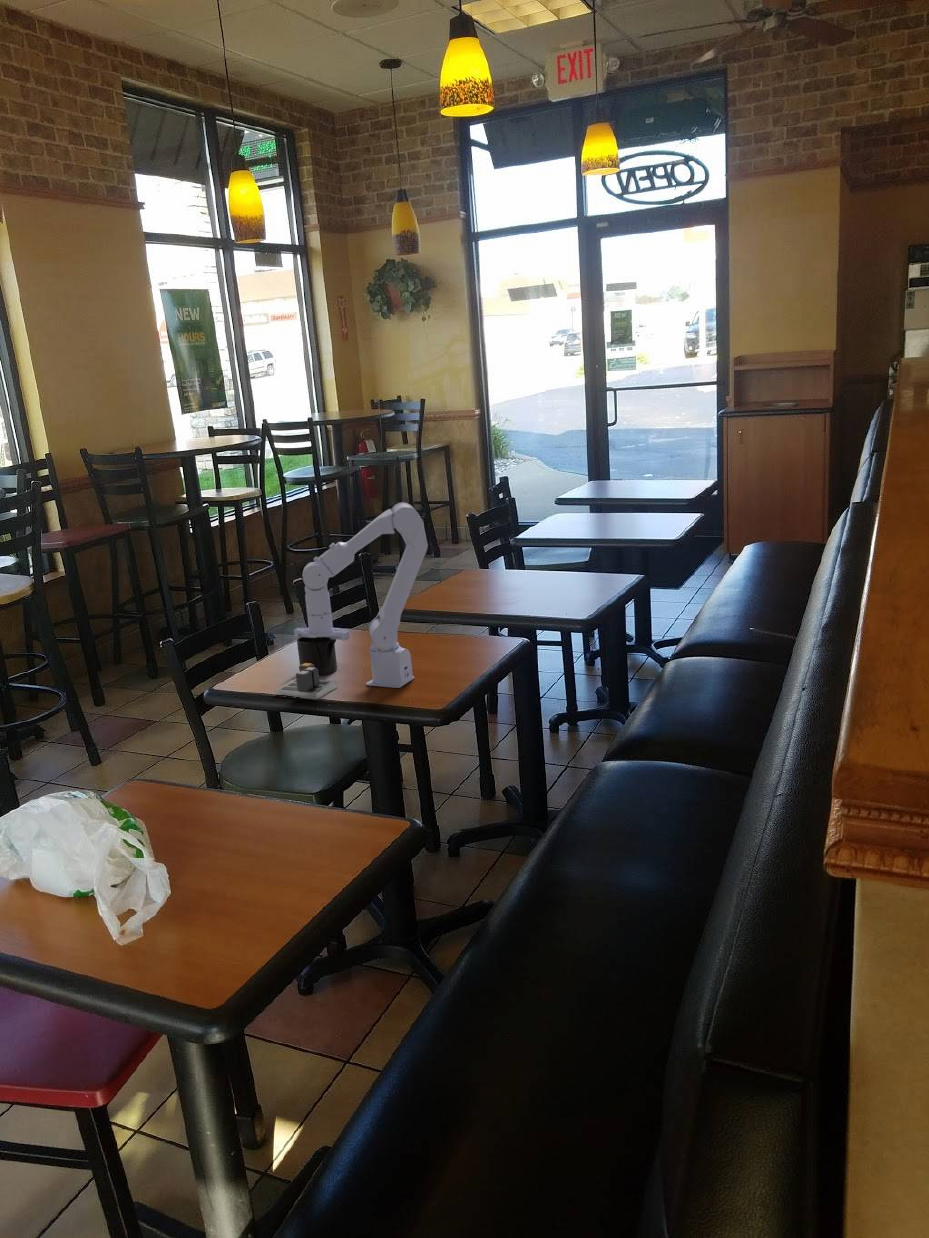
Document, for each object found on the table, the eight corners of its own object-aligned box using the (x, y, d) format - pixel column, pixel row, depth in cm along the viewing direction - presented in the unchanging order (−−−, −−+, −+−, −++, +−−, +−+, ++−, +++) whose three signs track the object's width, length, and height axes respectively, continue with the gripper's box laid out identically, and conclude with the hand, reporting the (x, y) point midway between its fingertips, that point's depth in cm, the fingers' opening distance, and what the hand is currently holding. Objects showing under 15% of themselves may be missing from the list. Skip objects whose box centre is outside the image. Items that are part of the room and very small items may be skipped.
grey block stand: (337, 687, 234) (334, 663, 233) (316, 699, 227) (313, 675, 225) (297, 683, 240) (294, 660, 238) (275, 695, 232) (272, 671, 230)
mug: (345, 662, 254) (342, 629, 252) (330, 676, 243) (326, 642, 241) (312, 662, 256) (308, 630, 254) (295, 677, 245) (291, 643, 243)
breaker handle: (316, 679, 236) (314, 663, 235) (311, 682, 234) (309, 666, 233) (305, 678, 237) (303, 662, 236) (300, 681, 235) (298, 665, 234)
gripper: (284, 615, 228) (290, 669, 232) (335, 618, 222) (341, 674, 225) (301, 608, 234) (307, 661, 238) (351, 610, 228) (357, 665, 231)
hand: (325, 666), depth 232 cm, fingers closed
